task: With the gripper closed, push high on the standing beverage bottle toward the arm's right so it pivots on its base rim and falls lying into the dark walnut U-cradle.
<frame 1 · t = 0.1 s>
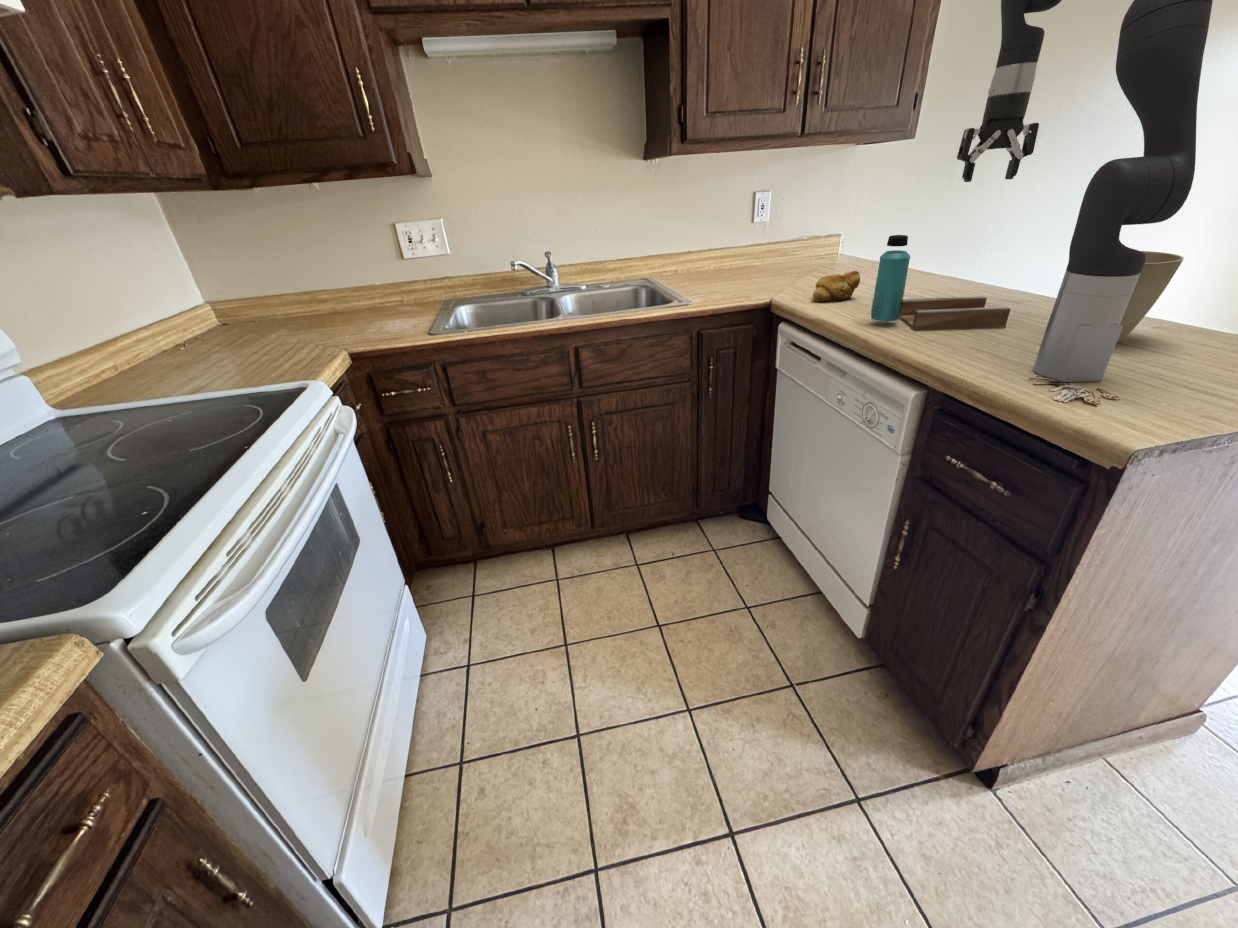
hand: (988, 180, 117), 29 cm above the counter, fingers open, 8 cm apart
bread roll: (830, 300, 152), on the counter
beverage bottle: (883, 325, 126), on the counter
plant pot: (1097, 339, 107), on the counter
walnut cradle: (947, 322, 124), on the counter
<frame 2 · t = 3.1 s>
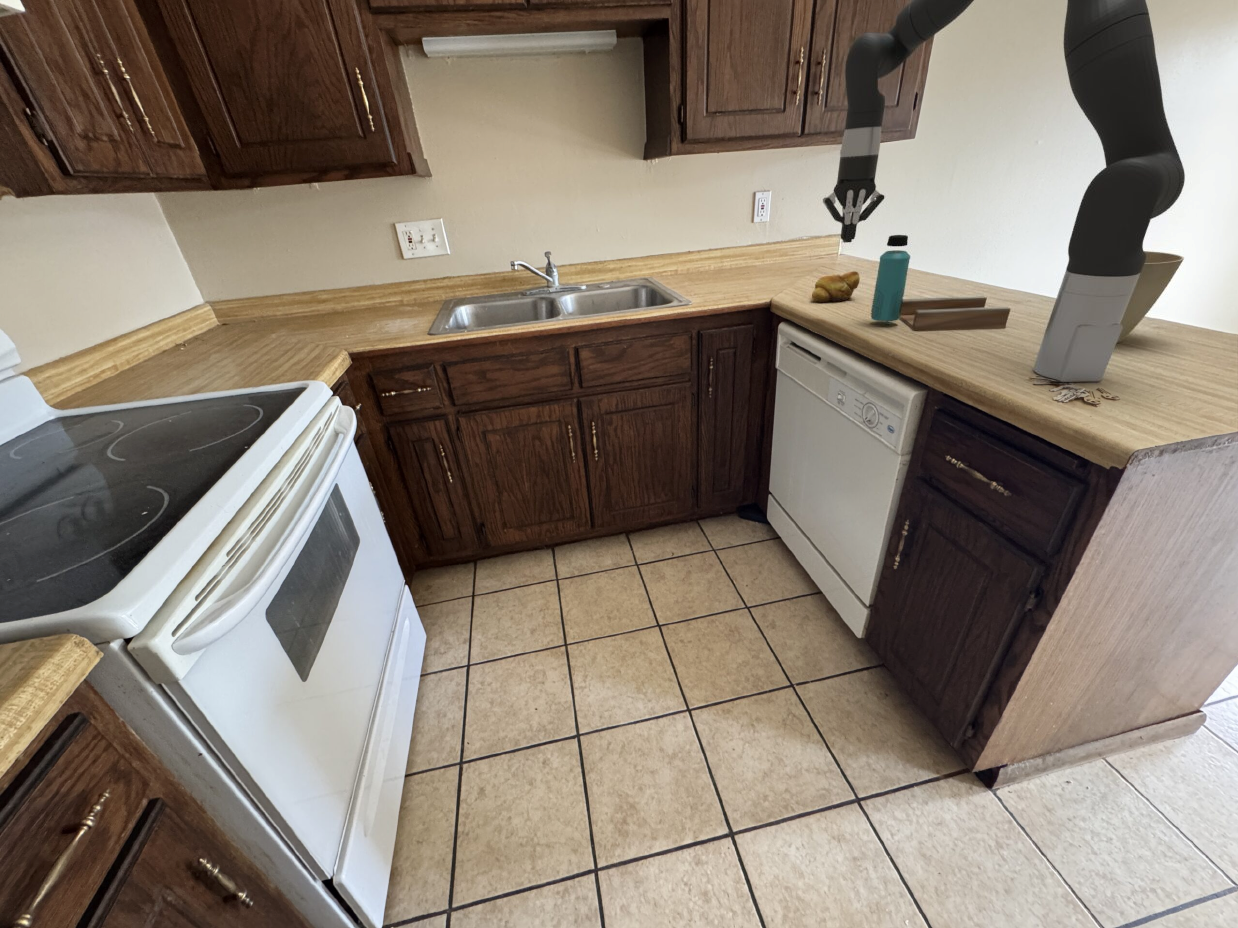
hand: (847, 242, 119), 19 cm above the counter, fingers closed
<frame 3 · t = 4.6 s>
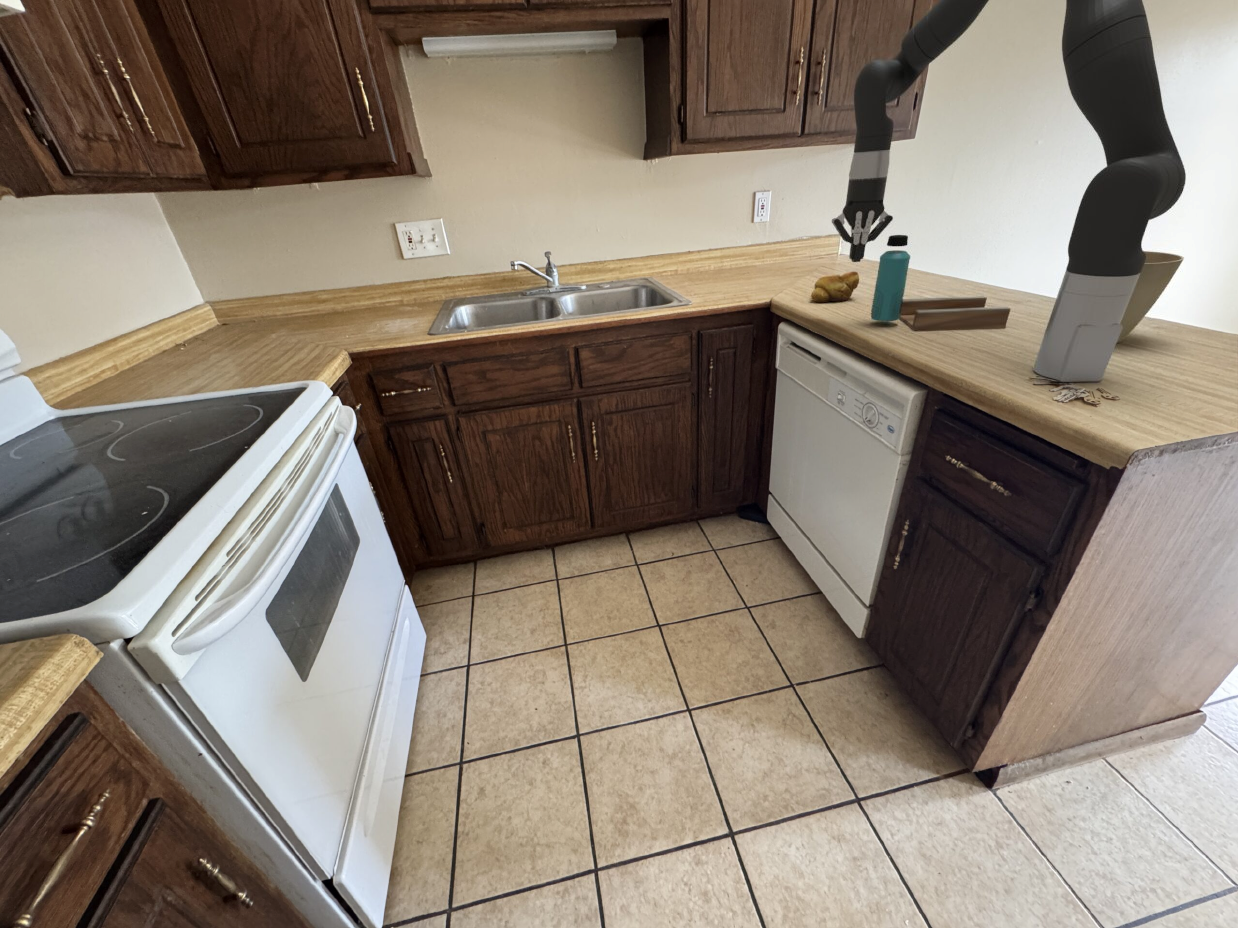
hand: (855, 261, 120), 15 cm above the counter, fingers closed
nothing on the counter moved.
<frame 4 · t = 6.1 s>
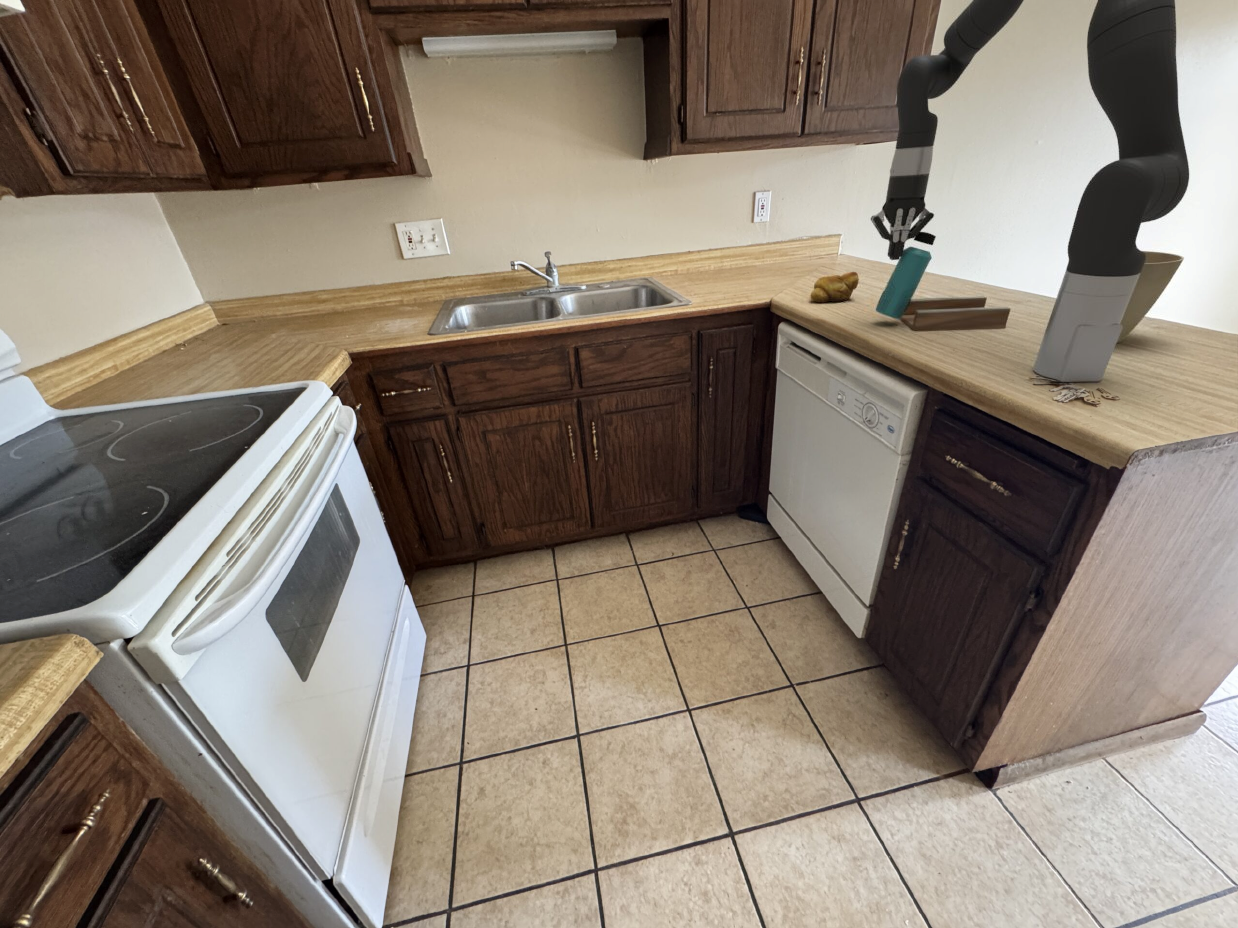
hand: (894, 259, 119), 15 cm above the counter, fingers closed
beverage bottle: (884, 321, 126), point 1 cm above the counter
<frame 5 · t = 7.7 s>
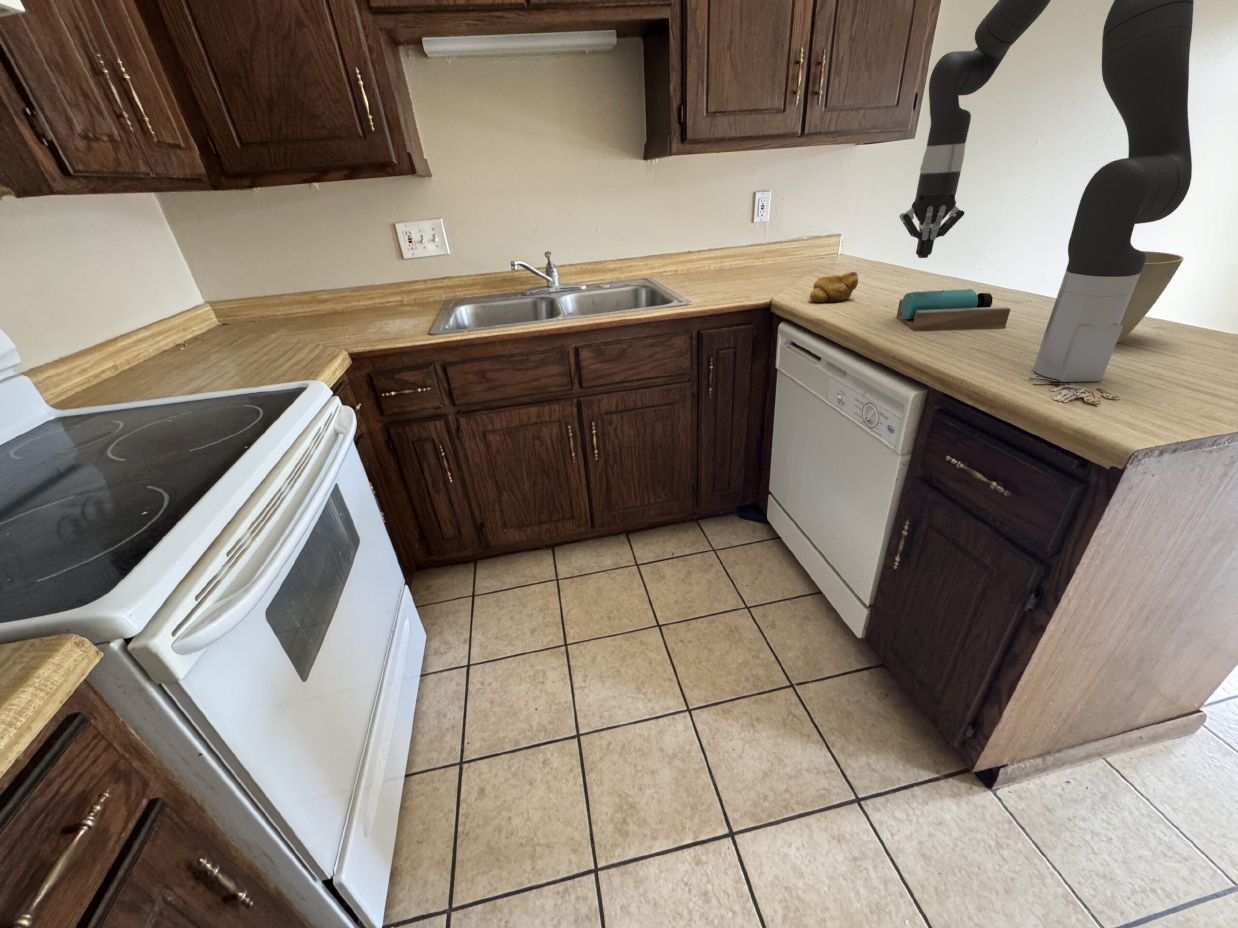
hand: (922, 257, 118), 15 cm above the counter, fingers closed
beverage bottle: (898, 306, 124), point 4 cm above the counter, touching walnut cradle
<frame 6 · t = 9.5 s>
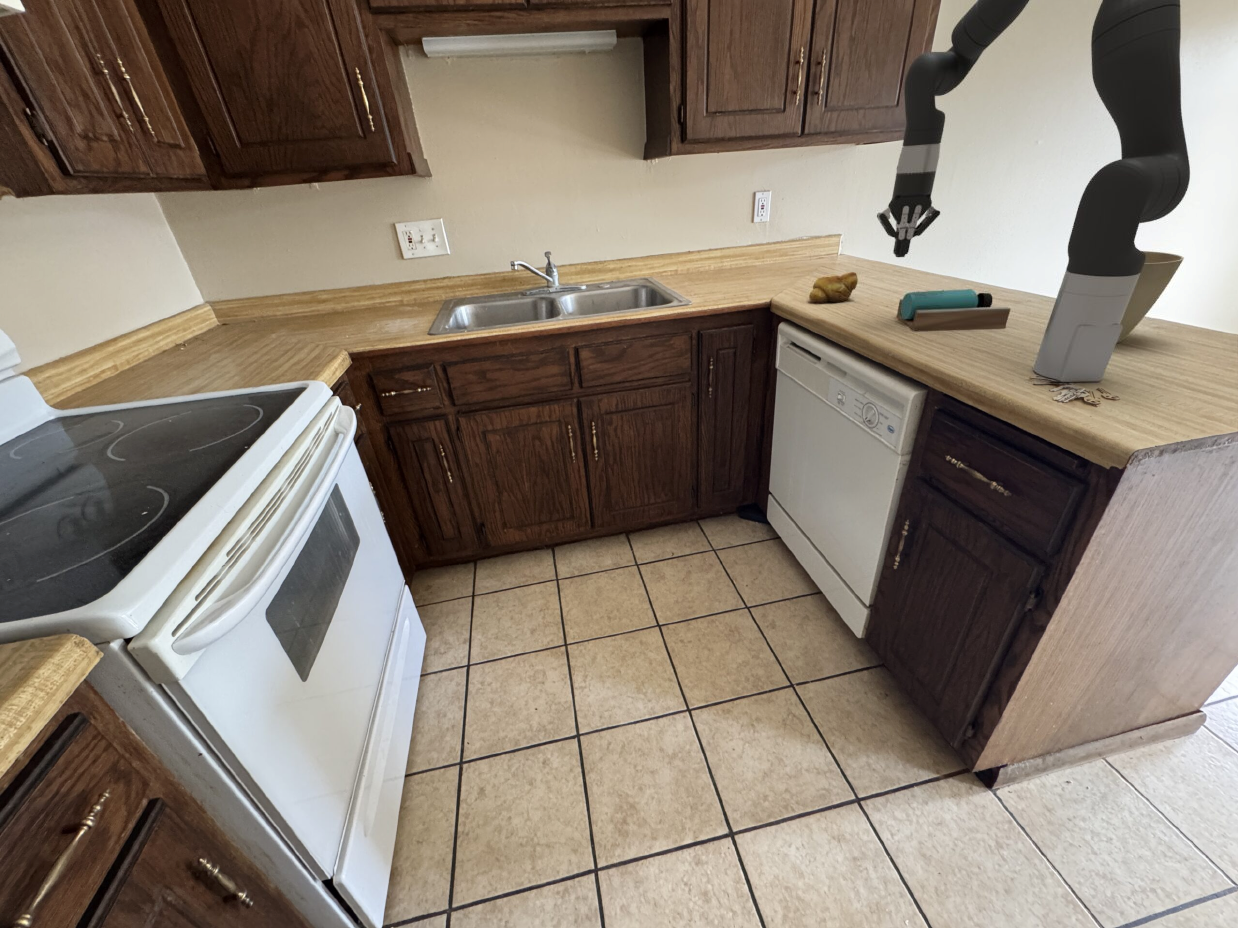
hand: (899, 256, 119), 15 cm above the counter, fingers closed
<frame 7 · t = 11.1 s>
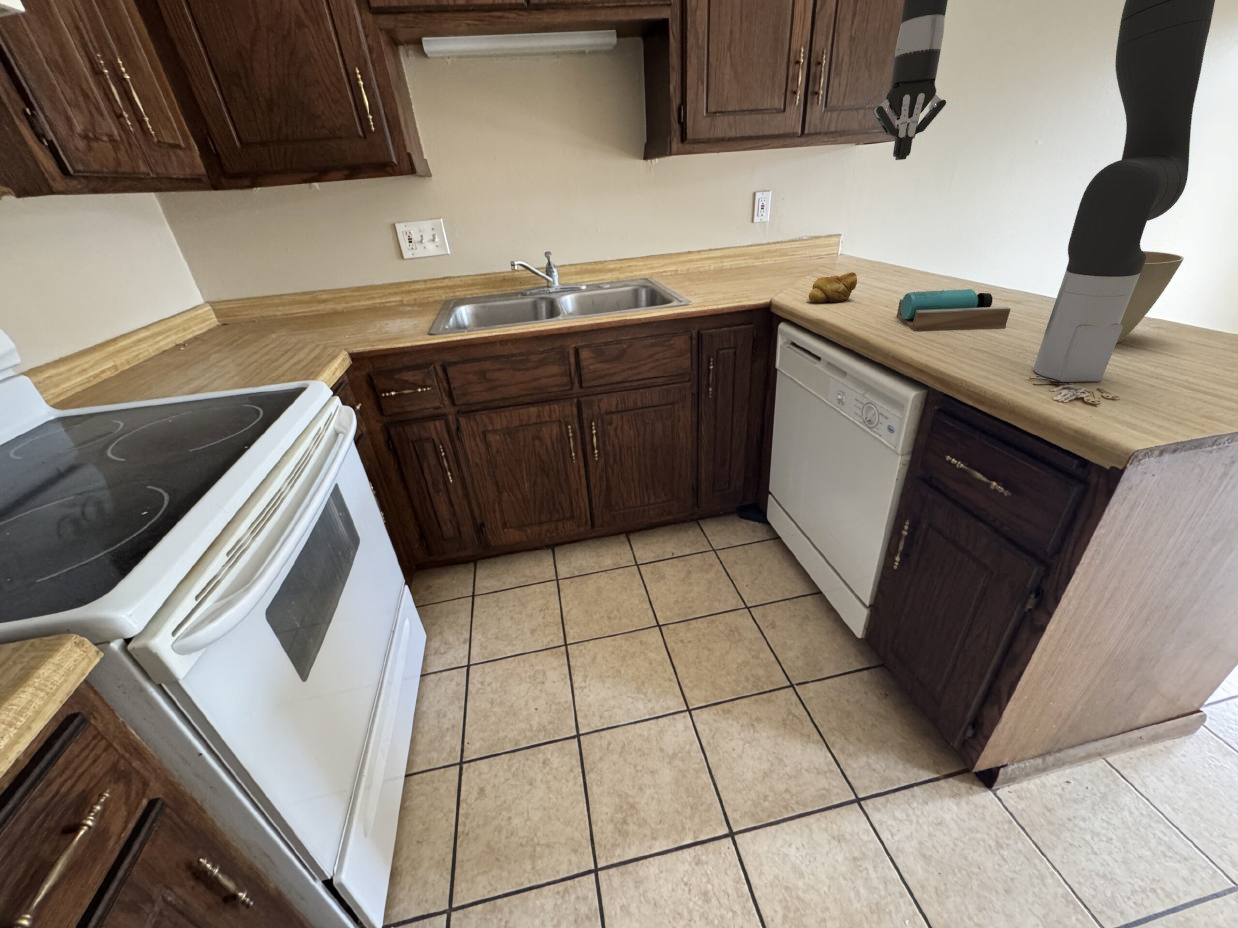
hand: (900, 159, 104), 35 cm above the counter, fingers closed
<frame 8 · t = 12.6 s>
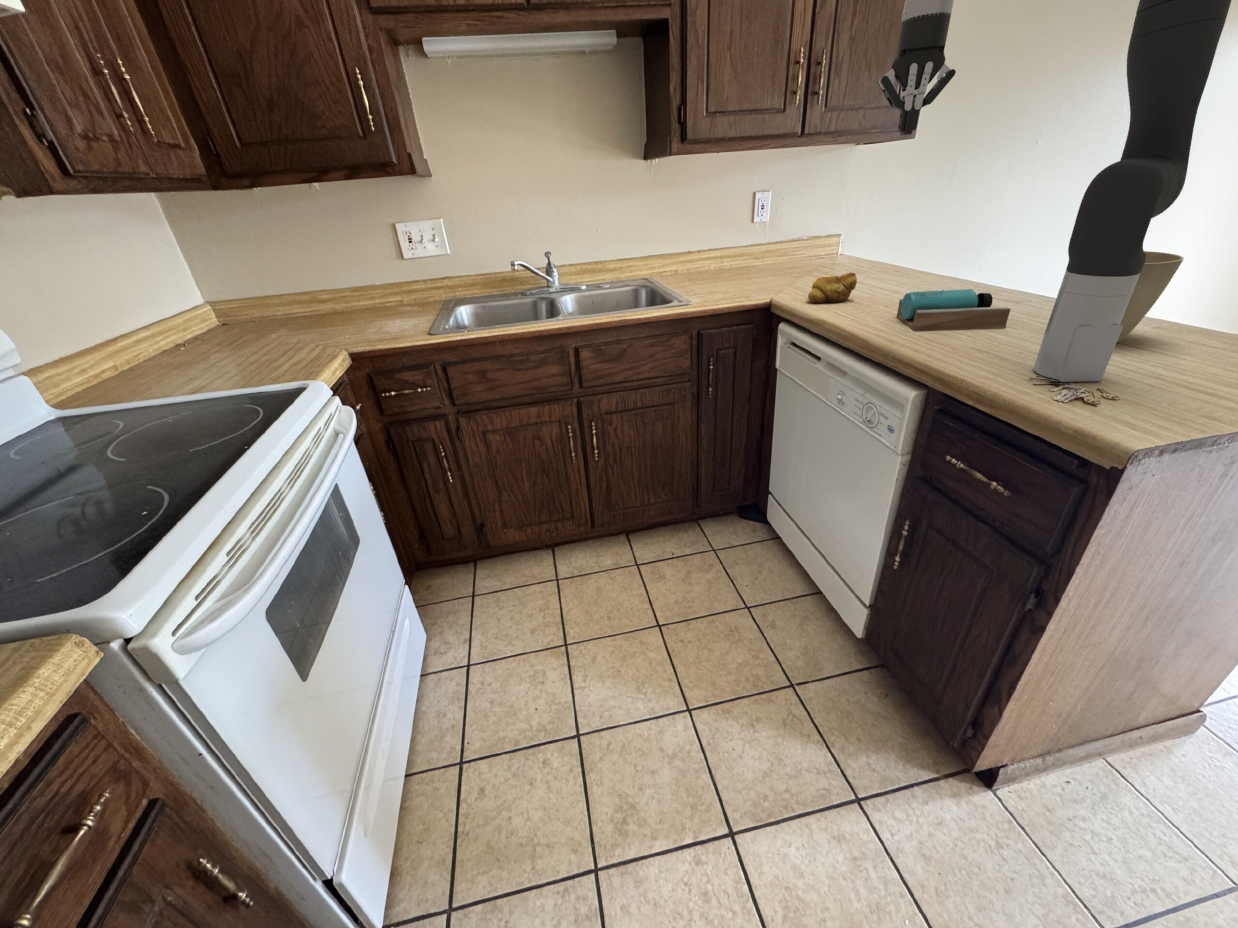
hand: (906, 134, 98), 39 cm above the counter, fingers closed
at the end: beverage bottle tilted 90°; beverage bottle inside the target area (1.1 cm from its centre), point 4.1 cm above the counter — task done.
